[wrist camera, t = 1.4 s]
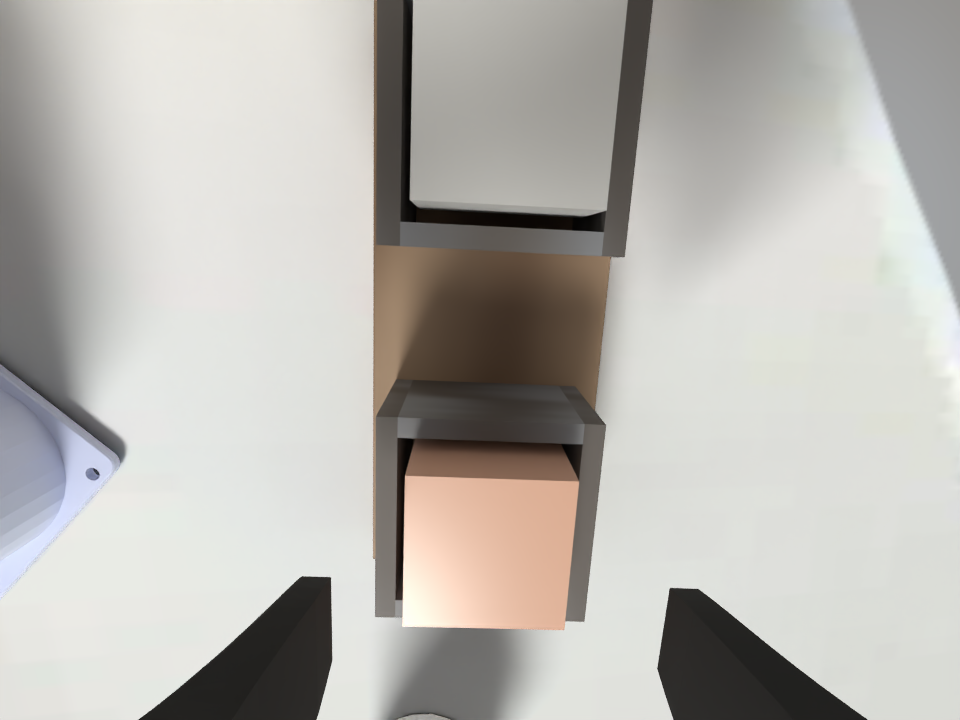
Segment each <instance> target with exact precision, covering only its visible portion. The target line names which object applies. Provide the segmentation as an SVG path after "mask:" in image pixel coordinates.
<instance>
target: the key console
mask: <svg viewBox="0 0 960 720" xmlns="http://www.w3.org/2000/svg"><path fill="white" fill-rule="evenodd" d="M652 4H653V0H628V4H627V14H626V23H625V33H624V43H623V53H622V63H621V73H620V83H619V93H618V103H617V113H616V123H615V133H614V143H613V153H612V162H611V172H610V182H609V192H608V202H607V210H606V211H603V212H599V213H596V214H592V215H589V216H585V217H582V218H578V217H559V216H540V215H521V214H502V213H483V212H464V211H445V210H427V209H419V208H418V207H417V206H416V205H415V204H414V203H413V202H412V201H411V200H410V159H411V100H412V41H413V0H374V366H373V559H375V617H400V618H403V564H404V505H405V474H406V470H407V467H408V463H409V459H410V456H411V452H412V448H413V445H414V441H415V438H417V439H445V440H473V441H501V442H529V443H557V444H561V445H562V447H563V449H564V451H565V453H566V455H567V458H568V460H569V462H570V464H571V466H572V468H573V470H574V472H575V474H576V476H577V478H578V480H579V489H578V499H577V509H576V518H575V528H574V538H573V548H572V558H571V568H570V578H569V588H568V598H567V608H566V618H565V621H579V622H584V620H585V611H586V602H587V592H588V583H589V574H590V565H591V556H592V547H593V538H594V529H595V520H596V511H597V502H598V493H599V484H600V475H601V466H602V457H603V448H604V439H605V430H606V424H605V423H604V422H603V421H602V419H601V418H600V417H599V416H598V414H597V413H596V412H595V403H596V393H597V384H598V374H599V365H600V355H601V345H602V336H603V326H604V317H605V307H606V298H607V288H608V278H609V269H610V259H611V257H625V249H626V240H627V230H628V221H629V212H630V203H631V194H632V185H633V176H634V167H635V158H636V149H637V140H638V131H639V122H640V113H641V104H642V95H643V86H644V77H645V68H646V59H647V49H648V40H649V31H650V22H651V13H652Z"/></svg>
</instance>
